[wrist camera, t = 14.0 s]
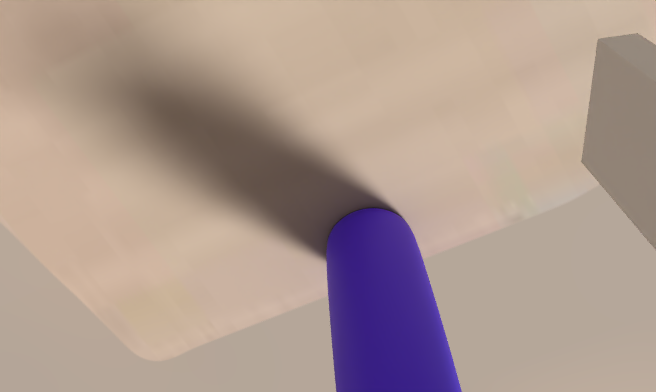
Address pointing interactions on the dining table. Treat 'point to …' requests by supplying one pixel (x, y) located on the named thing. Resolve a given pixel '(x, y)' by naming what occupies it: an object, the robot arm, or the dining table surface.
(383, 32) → the dining table surface
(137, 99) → the dining table surface
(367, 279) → the bottle
